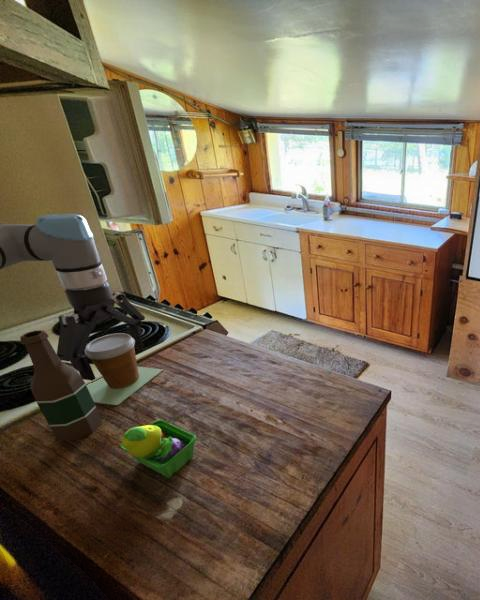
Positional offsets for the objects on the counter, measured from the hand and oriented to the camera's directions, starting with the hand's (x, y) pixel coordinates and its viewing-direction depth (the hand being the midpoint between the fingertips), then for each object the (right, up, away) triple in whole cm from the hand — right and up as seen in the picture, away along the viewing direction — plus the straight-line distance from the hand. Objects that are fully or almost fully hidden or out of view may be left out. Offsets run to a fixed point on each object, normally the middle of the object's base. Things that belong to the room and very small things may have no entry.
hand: (115, 362), depth 82 cm
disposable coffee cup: (0, -6, +3) cm, 6 cm away
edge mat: (-1, -6, +2) cm, 6 cm away
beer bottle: (+2, -12, -12) cm, 17 cm away
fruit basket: (+25, -17, -18) cm, 35 cm away
